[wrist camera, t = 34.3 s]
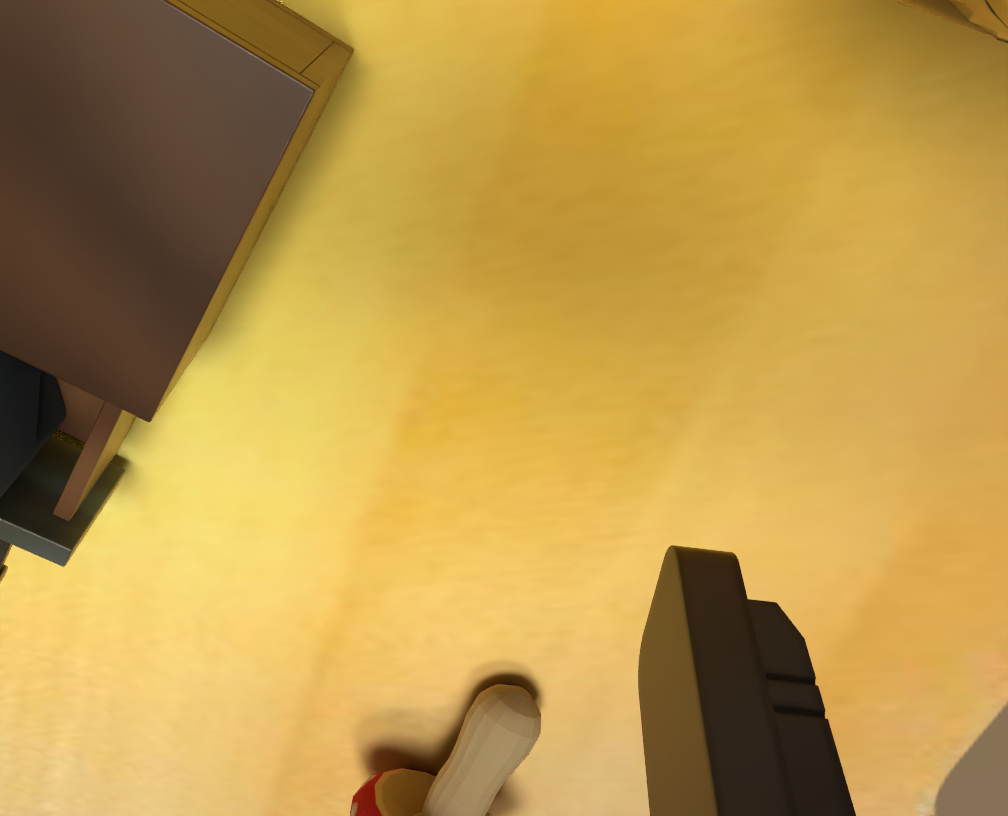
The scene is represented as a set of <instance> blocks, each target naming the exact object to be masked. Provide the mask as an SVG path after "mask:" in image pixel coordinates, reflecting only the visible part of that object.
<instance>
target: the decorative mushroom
mask: <svg viewBox="0 0 1008 816" xmlns="http://www.w3.org/2000/svg"><path fill="white" fill-rule="evenodd" d="M540 732H541V713H540V711H539V708H538V707H537V705H536V703H535V702H534V700H533V698H532V697H531V695H530V694H529V692H527V691H526V690H525V689H523V688H521V687H519V686H513V685H505V684H496V685H494V686H492V687H490V688H488V689H486V690H484V691H482V692H480V693H479V695H478V696H477V698H476V700H475V701H474V703H473V705H472V706H471V708H470V710H469V711H468V713H467V714H466V717H465V720H464V723H463V725H462V728H461V731H460V734H459V736H458V739H457V742H456V745H455V747H454V749H453V751H452V753H451V755H450V757H449V759H448V760H447V762H446V763H445V764H444V766H443V767H442V768H441V770H440V771H439V773H438V774H437V776H436V777H435V776H433V775H431V774H428V773H426V772H422V771H416V770H409V769H403V768H400V769H393V770H389V771H385V772H381V773H377V774H373V775H372V776H371V777H370V778H369V779H368V780H367V781H365V782H364V784H363V785H362V786H361V787H360V789H359V790H358V791H357V793H356V794H355V795H354V796H353V800H352V805H351V811H350V816H491V815H490V814H489V813H488V810H489V808H490V806H491V804H492V802H493V800H494V798H495V796H496V793H497V792H498V791H499V789H500V788H501V786H502V785H503V783H504V782H505V781H506V779H507V778H508V777H509V776H510V775H511V774H512V772H513V771H514V770H515V769H516V768H517V767H518V766H519V765H520V763H521V762H522V761H523V760H524V759H525V758H526V757H527V756H528V755H529V753H530V751H531V749H532V748H533V746H534V744H535V742H536V741H537V739H538V737H539V735H540Z"/></svg>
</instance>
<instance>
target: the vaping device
mask: <svg viewBox="0 0 1008 816" xmlns="http://www.w3.org/2000/svg"><path fill="white" fill-rule="evenodd" d="M65 417H66V410H65V407H64V404H63V400H62V397H61V394H60V391H59V387H58V384H57V381H56V377H54V376H52V375H50V374H48V373H46V372H44V371H42V370H40V369H38V368H36V367H34V366H32V365H30V364H28V363H26V362H24V361H22V360H19V359H17V358H15V357H13V356H11V355H9V354H7V353H5V352H3V351H1V350H0V498H1V496H2V495H3V494H4V493H5V491H6V490H7V489H8V488H9V487H10V485H11V484H12V483H13V482H14V481H15V479H16V478H17V477H18V476H19V474H20V473H21V472H22V470H23V469H24V468H25V467H26V466H27V464H28V463H29V462H30V461H31V460H32V458H33V457H34V456H35V455H36V453H37V452H38V451H39V450H40V449H41V447H42V446H43V445H44V444H45V443H46V441H47V440H48V439H49V438H50V436H51V435H52V434H53V433H54V432H55V430H56V429H57V428H58V427H59V426H60V424H61V423H62V422H63V421H64V419H65Z"/></svg>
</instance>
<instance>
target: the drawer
mask: <svg viewBox="0 0 1008 816" xmlns="http://www.w3.org/2000/svg"><path fill="white" fill-rule="evenodd" d="M56 381H57V384H58V387H59V391H60V394H61V397H62V400H63V404H64V407H65V410H66V417H65V419H64V421H63V422H62V423H61V424H60V426H59V427H58V428H57V429H58V430H60V431H62V432H64V433H66V434H68V435H70V436H73V437H75V438H77V439H79V440H81V441H83V442H85V445H84V447H83V449H80V448H78V447H76V446H74V445H72V444H69V443H67V442H65V441H63V440H61V439H59V438H57V437H54V436H52V435H51V436H50V438H49V439H48V440H47V441H46V443H45V444H44V445H43V446H42V447H41V449H40V450H39V451H38V452H37V453H36V455H35V456H34V457H33V458H32V460H31V461H30V462H29V463H28V464H27V466H26V467H25V468H24V469H23V470H22V472H21V473H20V474H19V476H18V477H17V478H16V479H15V481H14V482H13V483H12V484H11V485H10V487H9V488H8V489H7V490H6V491H5V493H4V494H3V495H2V496H1V498H0V582H1V581H2V579H3V577H4V576H5V574H6V572H7V569H8V567H7V566H6V565H4V563H5V560H6V558H7V556H8V554H9V551H10V549H11V547H12V545H15V546H17V547H19V548H22V549H24V550H26V551H29V552H31V553H33V554H35V555H38V556H40V557H42V558H45V559H47V560H49V561H52V562H54V563H56V564H58V565H61V566H65V565H66V564H67V562H68V561H69V559H70V558H71V556H72V555H73V553H74V552H75V550H76V549H77V547H78V546H79V544H80V543H81V541H82V539H83V538H84V536H85V535H86V533H87V532H88V530H89V529H90V527H91V526H92V524H93V523H94V521H95V520H96V518H97V516H98V515H99V513H100V512H101V510H102V509H103V507H104V506H105V504H106V503H107V501H108V500H109V498H110V497H111V495H112V493H113V492H114V490H115V489H116V487H117V486H118V484H119V482H120V480H121V478H122V476H123V474H124V472H125V470H124V469H123V468H120V467H118V466H116V465H114V464H112V463H110V462H111V460H112V459H113V457H114V456H115V454H116V453H117V452H118V450H119V449H120V447H121V445H122V443H123V441H124V439H125V437H126V435H127V433H128V430H129V428H130V426H131V424H132V422H133V420H134V418H135V415H133V414H131V413H129V412H127V411H124V410H122V409H120V408H118V407H116V406H114V405H112V404H110V403H108V402H106V401H104V400H102V399H100V398H98V397H96V396H94V395H92V394H89V393H87V392H85V391H83V390H81V389H79V388H77V387H75V386H73V385H71V384H69V383H67V382H65V381H63V380H61V379H59V378H57V377H56Z"/></svg>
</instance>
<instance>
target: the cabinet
mask: <svg viewBox="0 0 1008 816" xmlns="http://www.w3.org/2000/svg"><path fill="white" fill-rule="evenodd" d="M353 50H354V49H353V48H351V47H349V46H348V45H346V44H345V43H343V42H341V41H340V40H338V39H337V38H335V37H333V36H332V35H330V34H329V33H327V32H325V31H324V30H322V29H321V28H319V27H317V26H316V25H314V24H313V23H311V22H309V21H308V20H306V19H305V18H303V17H301V16H300V15H298V14H297V13H295V12H293V11H292V10H290V9H288V8H287V7H285V6H284V5H282V4H280V3H279V2H277V1H276V0H0V350H1V351H3V352H5V353H7V354H9V355H11V356H13V357H15V358H17V359H19V360H22V361H24V362H26V363H28V364H30V365H32V366H34V367H36V368H38V369H40V370H42V371H44V372H46V373H48V374H50V375H52V376H54V377H57V378H59V379H61V380H63V381H65V382H67V383H69V384H71V385H73V386H75V387H77V388H79V389H81V390H83V391H85V392H87V393H89V394H92V395H94V396H96V397H98V398H100V399H102V400H104V401H106V402H108V403H110V404H112V405H114V406H116V407H118V408H120V409H122V410H124V411H127V412H129V413H131V414H133V415H135V416H137V417H139V418H141V419H143V420H145V421H147V422H151V421H152V419H153V418H154V416H155V415H156V413H157V412H158V410H159V409H160V407H161V406H162V404H163V403H164V401H165V400H166V398H167V397H168V395H169V394H170V392H171V391H172V389H173V388H174V386H175V385H176V383H177V382H178V380H179V379H180V377H181V376H182V374H183V373H184V371H185V370H186V368H187V367H188V365H189V364H190V362H191V361H192V359H193V358H194V356H195V355H196V353H197V352H198V350H199V349H200V347H201V346H202V344H203V343H204V341H205V340H206V338H207V337H208V335H209V334H210V332H211V330H212V328H213V326H214V324H215V322H216V320H217V318H218V316H219V314H220V312H221V310H222V308H223V306H224V304H225V302H226V300H227V298H228V296H229V294H230V292H231V291H232V289H233V287H234V285H235V283H236V281H237V279H238V277H239V275H240V273H241V271H242V269H243V267H244V265H245V263H246V261H247V259H248V257H249V255H250V253H251V251H252V249H253V247H254V245H255V243H256V241H257V239H258V237H259V235H260V233H261V232H262V230H263V228H264V226H265V224H266V222H267V220H268V218H269V216H270V214H271V212H272V210H273V208H274V206H275V204H276V202H277V200H278V198H279V196H280V194H281V192H282V190H283V188H284V186H285V184H286V182H287V180H288V178H289V176H290V174H291V172H292V171H293V169H294V167H295V165H296V163H297V161H298V159H299V157H300V155H301V153H302V151H303V149H304V147H305V145H306V143H307V141H308V139H309V137H310V135H311V133H312V131H313V129H314V127H315V125H316V123H317V121H318V119H319V117H320V115H321V113H322V112H323V110H324V108H325V106H326V104H327V102H328V100H329V98H330V96H331V94H332V92H333V90H334V88H335V86H336V84H337V82H338V80H339V78H340V76H341V74H342V72H343V70H344V68H345V66H346V64H347V62H348V60H349V58H350V56H351V54H352V53H353Z"/></svg>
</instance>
